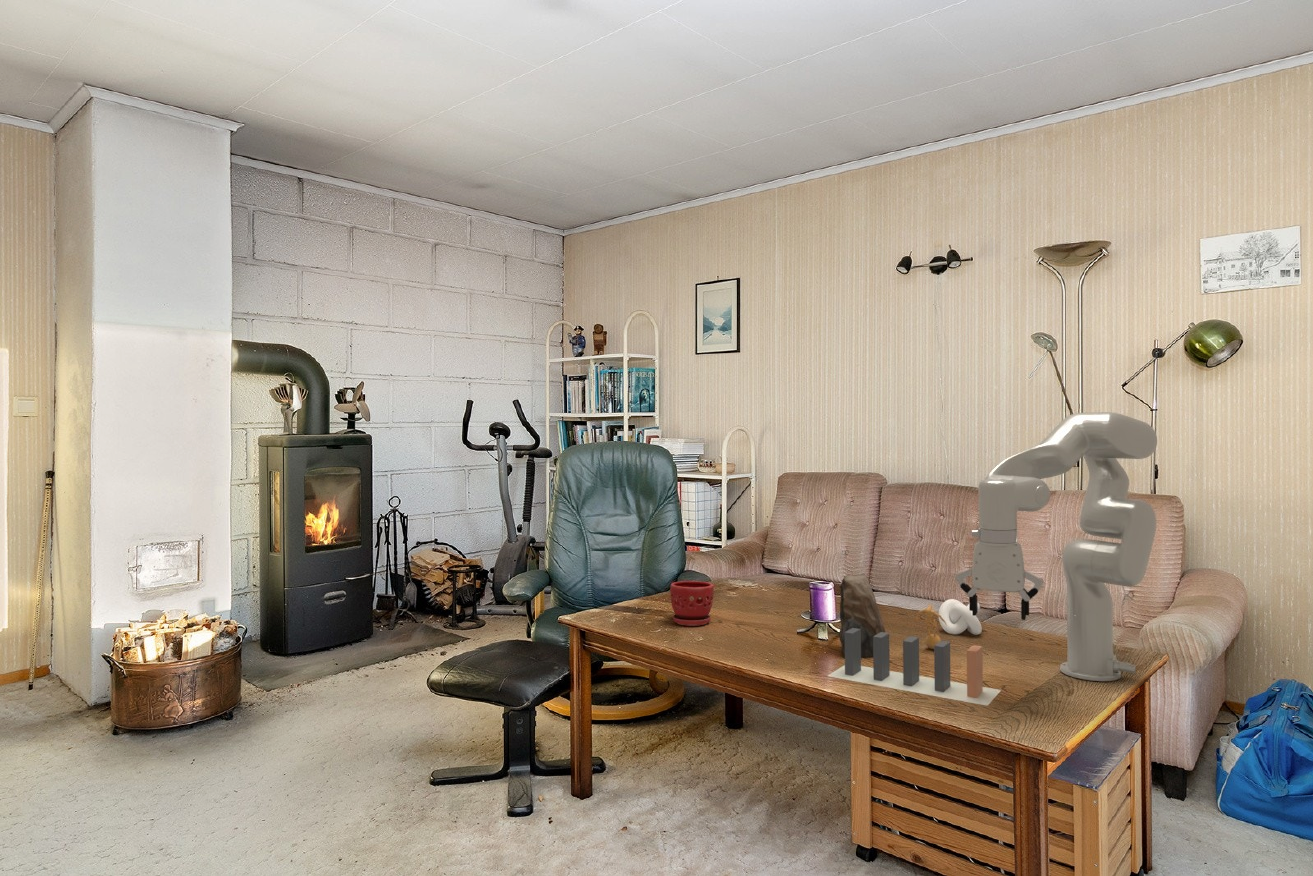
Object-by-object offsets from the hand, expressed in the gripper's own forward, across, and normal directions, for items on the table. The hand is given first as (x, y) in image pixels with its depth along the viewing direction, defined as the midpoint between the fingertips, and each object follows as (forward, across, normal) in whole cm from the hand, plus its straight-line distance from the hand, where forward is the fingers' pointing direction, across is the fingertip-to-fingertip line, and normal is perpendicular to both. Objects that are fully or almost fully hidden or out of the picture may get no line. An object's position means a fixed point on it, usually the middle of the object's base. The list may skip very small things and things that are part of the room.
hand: (999, 616), depth 172 cm
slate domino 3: (+18, -19, +2) cm, 26 cm away
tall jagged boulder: (+18, -34, +22) cm, 45 cm away
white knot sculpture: (+19, -15, +55) cm, 60 cm away
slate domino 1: (+18, -33, +4) cm, 37 cm away
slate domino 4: (+18, -12, +1) cm, 21 cm away
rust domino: (+18, -5, 0) cm, 18 cm away
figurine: (+18, -19, +34) cm, 43 cm away
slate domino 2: (+18, -26, +3) cm, 31 cm away
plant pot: (+18, -89, +34) cm, 97 cm away
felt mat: (+18, -19, +2) cm, 26 cm away
